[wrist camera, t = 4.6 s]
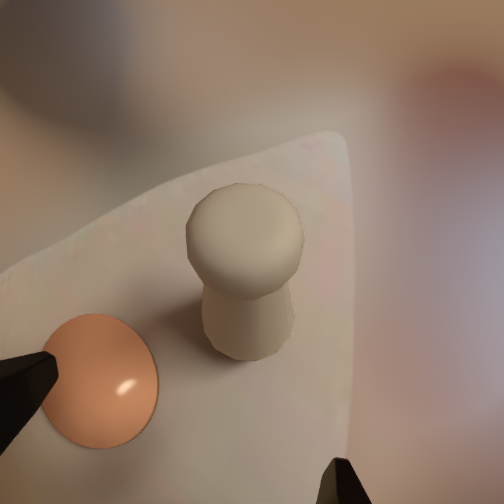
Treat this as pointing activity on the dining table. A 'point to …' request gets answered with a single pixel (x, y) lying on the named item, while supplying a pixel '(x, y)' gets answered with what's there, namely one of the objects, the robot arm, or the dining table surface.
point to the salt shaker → (245, 267)
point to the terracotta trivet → (101, 382)
